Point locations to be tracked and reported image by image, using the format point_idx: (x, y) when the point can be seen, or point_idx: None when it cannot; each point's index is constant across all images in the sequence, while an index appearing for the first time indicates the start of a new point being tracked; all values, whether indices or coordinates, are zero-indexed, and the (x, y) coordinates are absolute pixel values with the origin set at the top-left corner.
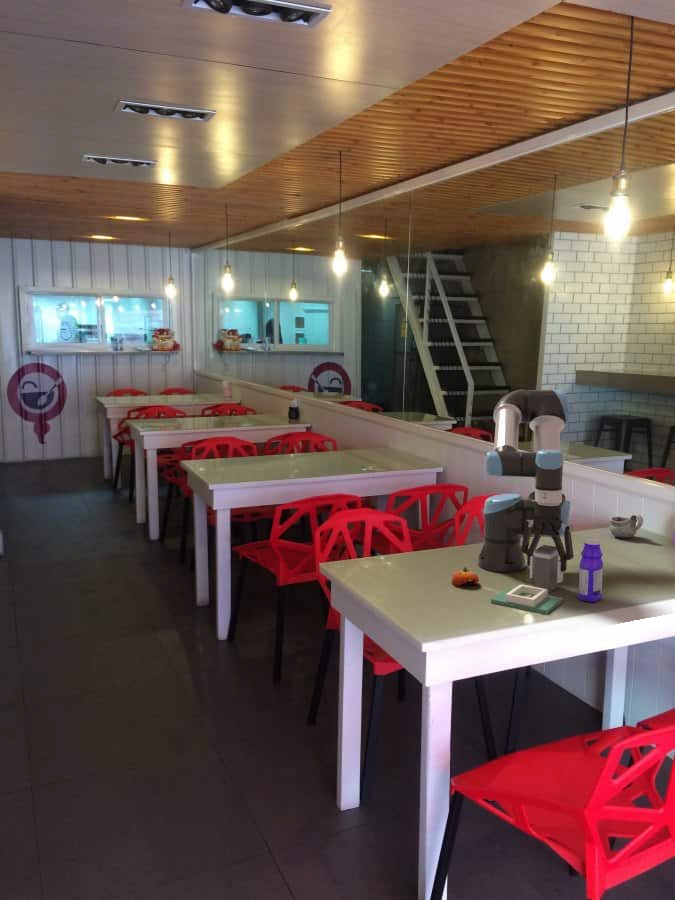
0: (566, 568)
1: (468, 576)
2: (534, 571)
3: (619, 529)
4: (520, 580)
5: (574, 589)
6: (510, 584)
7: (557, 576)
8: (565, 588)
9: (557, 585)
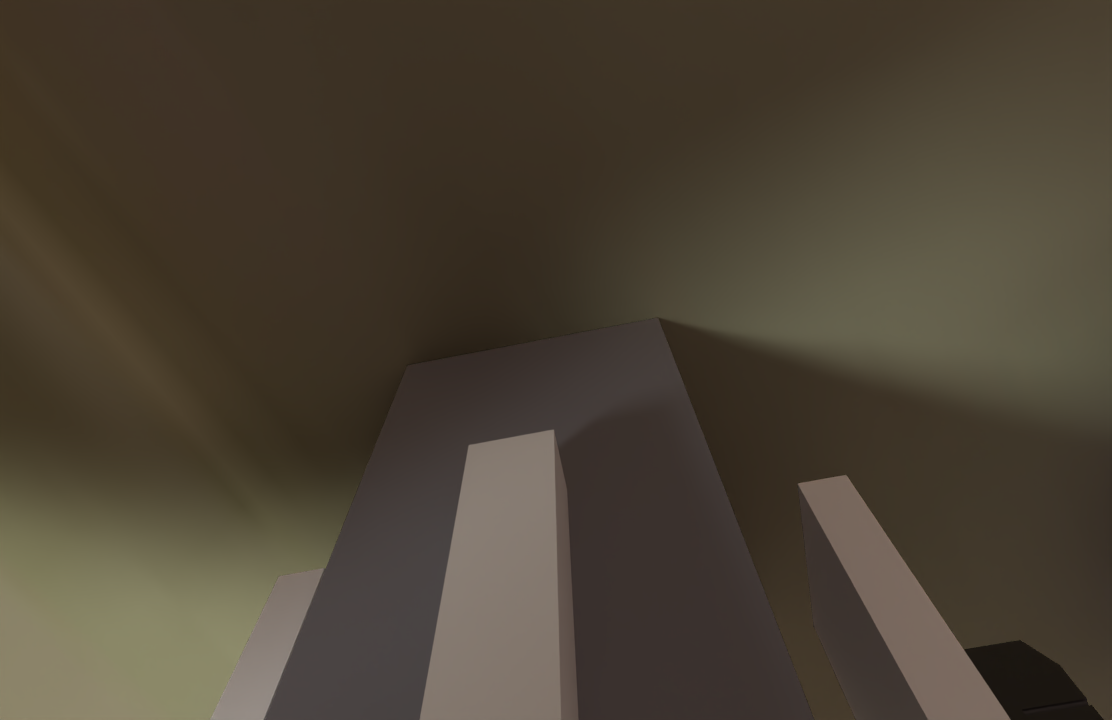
0: (1070, 680)
1: None
2: None
3: None
4: (63, 471)
5: (950, 266)
6: (119, 706)
7: (852, 705)
8: (809, 324)
9: (661, 329)
